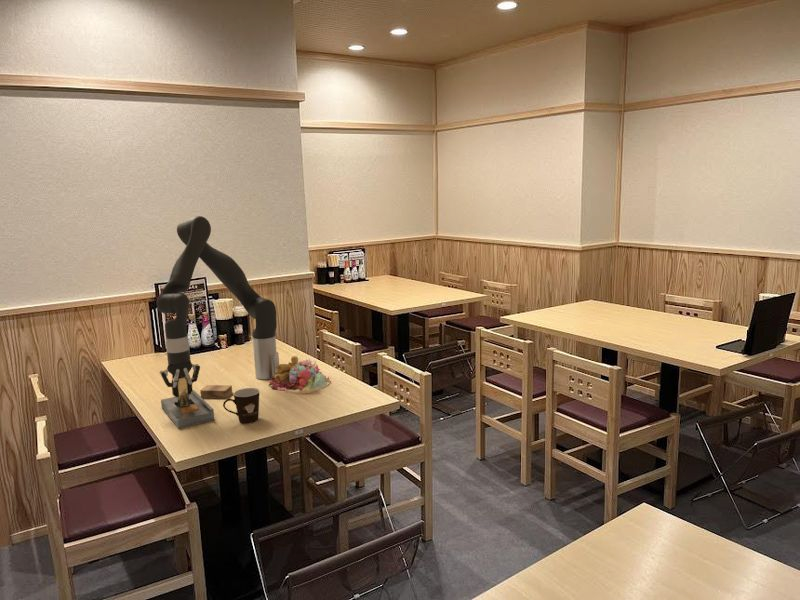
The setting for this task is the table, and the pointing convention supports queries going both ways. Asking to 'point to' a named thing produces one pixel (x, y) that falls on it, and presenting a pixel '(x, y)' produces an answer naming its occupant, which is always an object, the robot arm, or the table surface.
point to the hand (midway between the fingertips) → (182, 395)
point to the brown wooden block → (216, 391)
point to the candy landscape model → (299, 377)
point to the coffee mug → (246, 405)
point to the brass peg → (182, 391)
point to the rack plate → (188, 411)
